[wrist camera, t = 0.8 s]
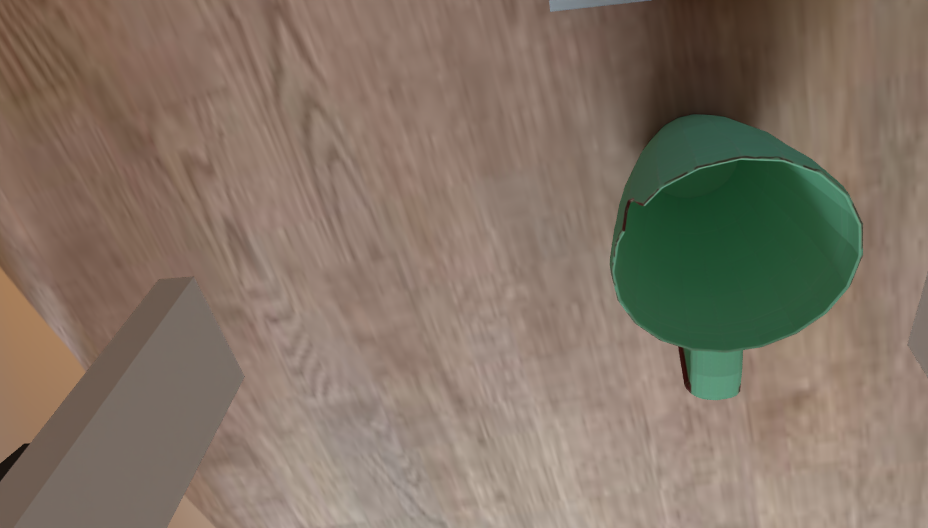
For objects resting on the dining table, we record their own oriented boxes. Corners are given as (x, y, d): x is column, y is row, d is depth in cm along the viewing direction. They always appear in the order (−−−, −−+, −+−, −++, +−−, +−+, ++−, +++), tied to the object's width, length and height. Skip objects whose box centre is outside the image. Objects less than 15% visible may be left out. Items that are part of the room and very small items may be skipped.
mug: (592, 78, 34) (605, 169, 25) (801, 53, 32) (887, 142, 24) (605, 305, 42) (618, 428, 34) (771, 295, 40) (828, 423, 32)
